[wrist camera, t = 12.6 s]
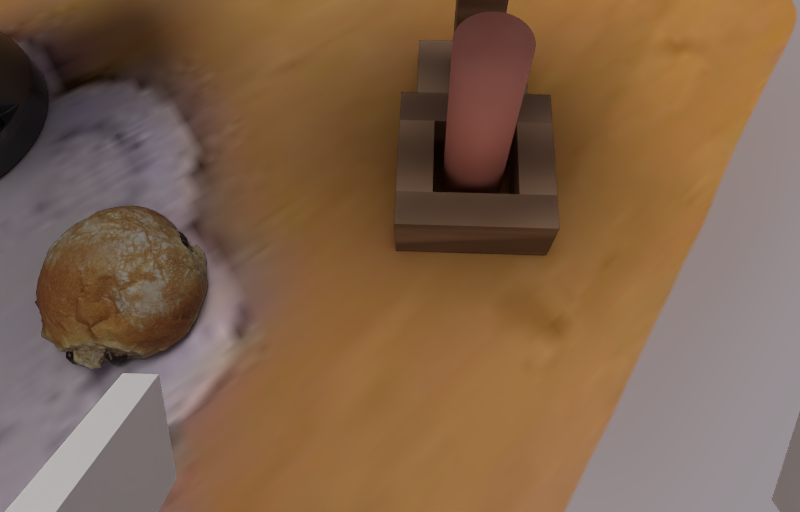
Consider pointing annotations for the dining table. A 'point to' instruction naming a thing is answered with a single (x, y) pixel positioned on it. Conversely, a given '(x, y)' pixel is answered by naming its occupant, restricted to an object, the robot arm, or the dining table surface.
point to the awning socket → (472, 212)
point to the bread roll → (120, 287)
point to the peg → (484, 99)
